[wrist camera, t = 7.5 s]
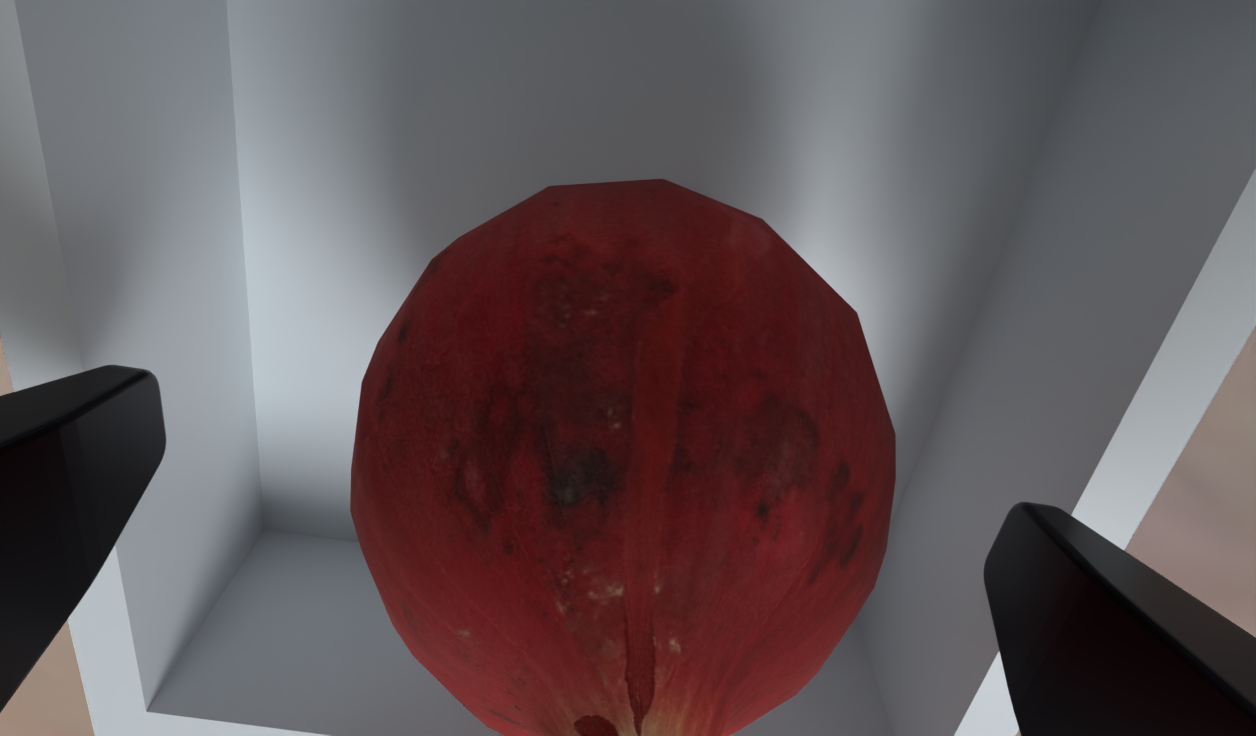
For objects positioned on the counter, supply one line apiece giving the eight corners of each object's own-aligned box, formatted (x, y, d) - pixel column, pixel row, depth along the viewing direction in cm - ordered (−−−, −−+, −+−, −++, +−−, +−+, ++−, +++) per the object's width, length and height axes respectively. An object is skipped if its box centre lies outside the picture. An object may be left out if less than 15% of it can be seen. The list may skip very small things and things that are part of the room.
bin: (1179, -94, 10) (1507, -104, 6) (877, 624, 16) (948, 849, 12) (161, -285, 10) (-178, -427, 6) (237, 535, 16) (95, 742, 12)
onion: (385, 129, 11) (15, 538, 4) (815, 89, 11) (1180, 442, 4) (465, 473, 14) (329, 1047, 7) (804, 445, 14) (1003, 1002, 7)
